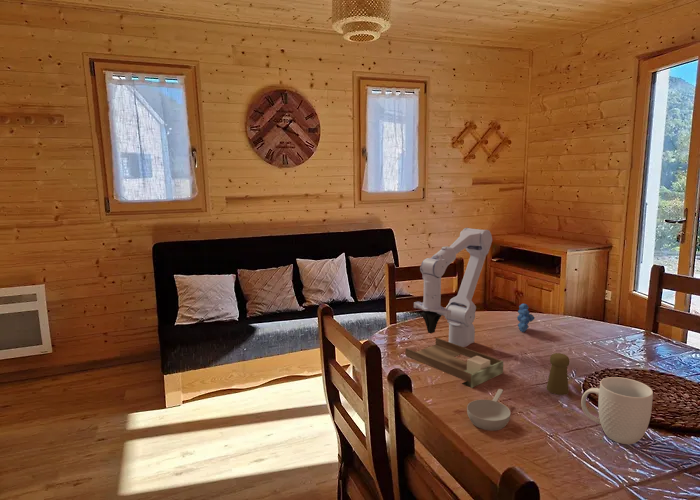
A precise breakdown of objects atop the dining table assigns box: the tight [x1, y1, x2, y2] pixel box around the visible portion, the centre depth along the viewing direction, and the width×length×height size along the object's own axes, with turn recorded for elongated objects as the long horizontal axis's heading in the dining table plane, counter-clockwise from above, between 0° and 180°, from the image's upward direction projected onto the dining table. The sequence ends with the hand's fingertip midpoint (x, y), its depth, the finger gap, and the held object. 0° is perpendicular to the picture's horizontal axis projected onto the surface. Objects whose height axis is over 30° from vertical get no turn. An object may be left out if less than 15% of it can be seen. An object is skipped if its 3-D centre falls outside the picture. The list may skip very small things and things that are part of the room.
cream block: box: [466, 356, 490, 374], centre depth 147 cm, size 5×5×4 cm
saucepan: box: [466, 388, 511, 432], centre depth 124 cm, size 11×18×4 cm, turn 148°
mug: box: [580, 376, 654, 445], centre depth 114 cm, size 15×11×13 cm
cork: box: [546, 352, 570, 396], centre depth 137 cm, size 6×6×11 cm
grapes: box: [516, 303, 536, 333], centre depth 186 cm, size 12×7×12 cm, turn 169°
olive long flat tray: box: [405, 337, 504, 389], centre depth 155 cm, size 16×28×4 cm, turn 39°
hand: (431, 332), depth 160 cm, fingers closed
